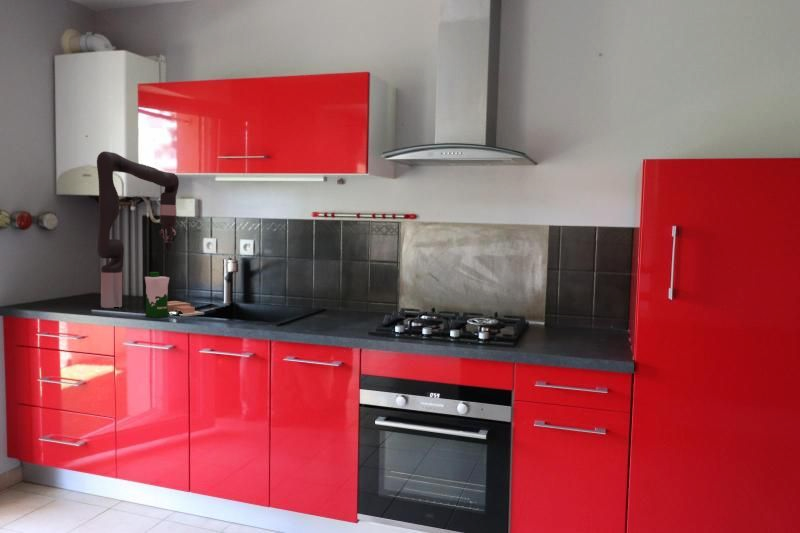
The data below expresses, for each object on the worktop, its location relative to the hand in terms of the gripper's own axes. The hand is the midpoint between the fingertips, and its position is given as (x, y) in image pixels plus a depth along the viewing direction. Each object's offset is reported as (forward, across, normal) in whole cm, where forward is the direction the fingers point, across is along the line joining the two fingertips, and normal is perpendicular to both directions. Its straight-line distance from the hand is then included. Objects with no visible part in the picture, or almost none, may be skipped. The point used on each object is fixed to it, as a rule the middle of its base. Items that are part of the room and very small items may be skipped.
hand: (167, 250), depth 318 cm
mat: (+29, +16, 0) cm, 33 cm away
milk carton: (+29, +13, -14) cm, 35 cm away
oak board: (+29, +4, 0) cm, 29 cm away
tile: (+28, +14, 0) cm, 32 cm away
